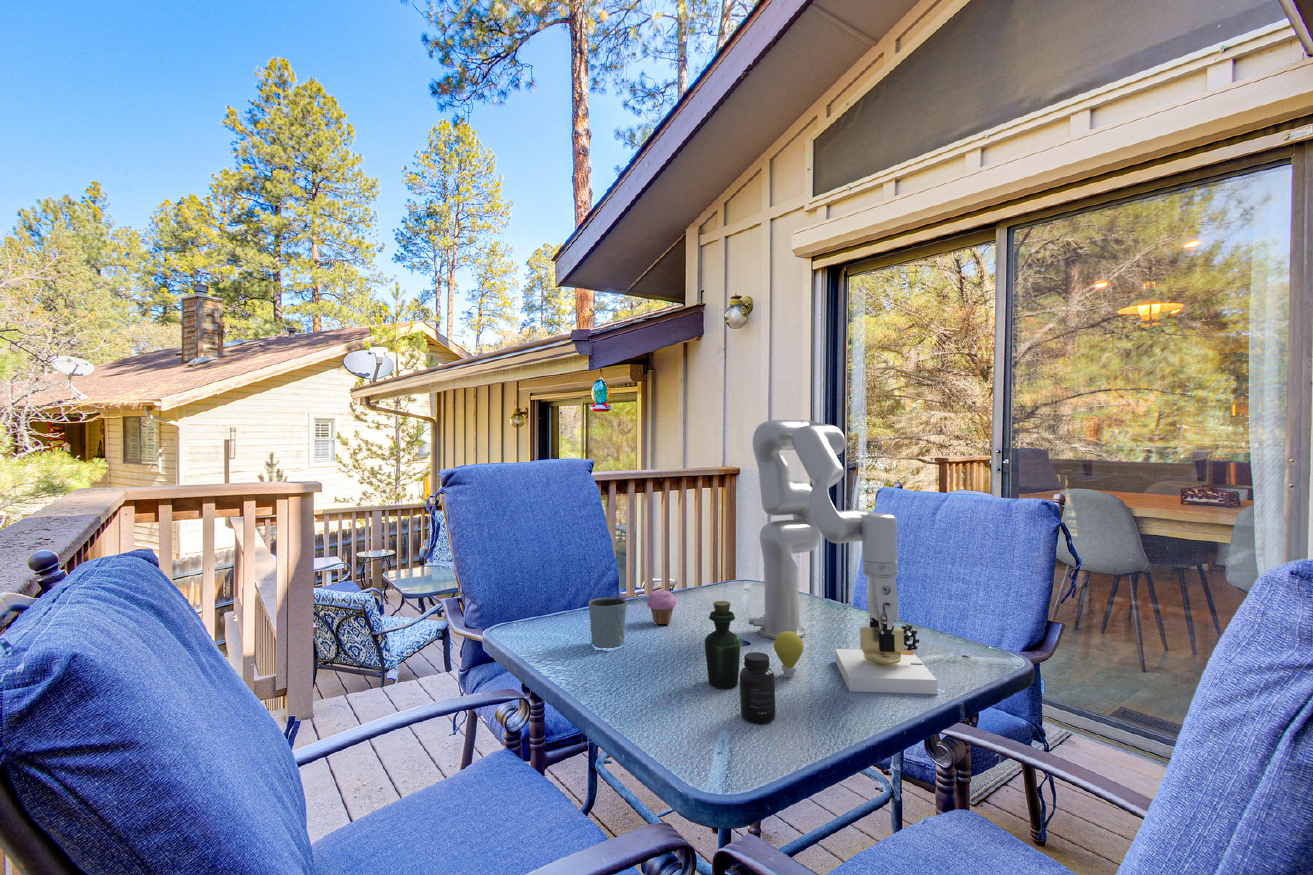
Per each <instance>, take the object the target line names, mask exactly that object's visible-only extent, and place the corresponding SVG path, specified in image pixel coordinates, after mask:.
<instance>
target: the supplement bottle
mask: <svg viewBox="0 0 1313 875" xmlns="http://www.w3.org/2000/svg"><path fill="white" fill-rule="evenodd" d="M743 660H744V661H743V666H744V667H742V669H741V670H740V671H739V697H740V699H739V702H740V704H739V705H740V716H741V718H742V719H743V720H744V721H745V722H747V723H750V724H753V725H766V724H769V723H771V722H773V721H774V720H775V718H776V715H777V714H776V680H775V679H776V677H775V673H774V671H773V670H772V669H771V667H770V665H771V663H770V656H769V655H768V654H766V653H765V652H759V651H752V652H751V651H750V652H747V653H746V654H744V659H743Z"/></svg>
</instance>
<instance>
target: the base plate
mask: <svg viewBox="0 0 1313 875" xmlns="http://www.w3.org/2000/svg"><path fill="white" fill-rule="evenodd" d="M834 653H835V655H834V658H835V659H834V660H835V661H834V662H835V663H836V666H837V667H838V670H839V672H840V675H841V676H842V679H843V681H844V683H845V685H846V686H847V689H848V691H849V692H856V693H858V692H859V693H860V692H862V693H863V692H864V693H865V692H866V693H886V694H889V693H891V694H915V695H916V694H917V695H918V694H923V695H938V679H937V678H936V677H935V676H934V675H933V673H932V672H931V671H930V670H929V669H928V667H927V666H926V665H925V664H924V663H923V662H922V661H921V659H920V658H918V656H917V655H916V654H915V652H913V655H902V654H901V661H900V662H898V663H895V664H878V663H875V662H872V661H869V660H867V659H865V658H864V652H862V650H861V649H856V648H854V649H852V648H851V649H850V648H849V649H848V648H847V649H846V648H834Z"/></svg>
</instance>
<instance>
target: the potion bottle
mask: <svg viewBox="0 0 1313 875" xmlns="http://www.w3.org/2000/svg"><path fill="white" fill-rule="evenodd" d="M712 604H713V607H714V610H713V611H711V612H710V613H709V616H708V619H709V620H710V621H713V624H714V628H715V630H714V631H712V632H710V633H709V634H707V635H706V637H705V639H704V641H703V642H704V650H705V658H706V659H705V661H706V670H707V680H708V684H709V685H710V686H711V687H712V688H716V689H720V690H728V689H734V688H735V687H737V685H738V683H739V678H740V660H741V646H742V644H741V643H742V642H741V639H740V637H739V636H738V635H737V634H736V633H734V632H732V631H731V630H730V626H731V622H733V621H735V620H736V615H735V614H734V612H733V611H730V608H731V602H730V601H726V600H716V601H713V603H712Z"/></svg>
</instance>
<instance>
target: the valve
mask: <svg viewBox="0 0 1313 875" xmlns="http://www.w3.org/2000/svg"><path fill="white" fill-rule="evenodd" d="M901 629H902V630H903V631H904V647H906V651H916V650H918V645H917V644H919V643H920V639H919V638H917V635H918V630H917V629H913V626H912V624H908V623H907V624H904V625H901ZM908 632H909V633H908ZM911 641H912V642H911ZM910 642H911V643H910Z"/></svg>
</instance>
